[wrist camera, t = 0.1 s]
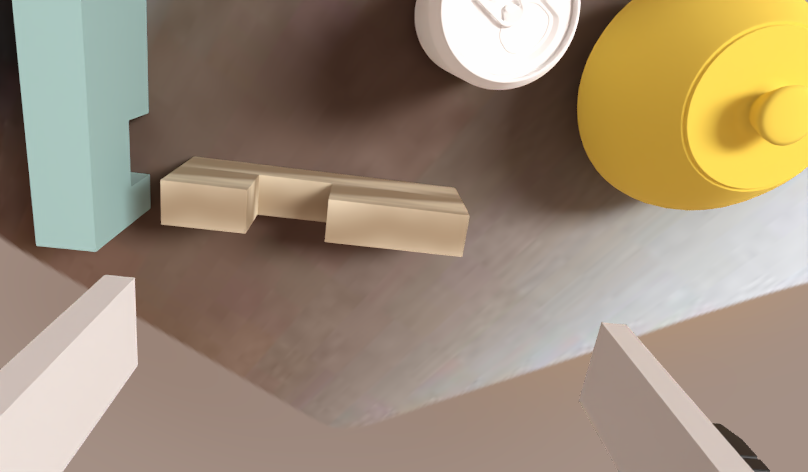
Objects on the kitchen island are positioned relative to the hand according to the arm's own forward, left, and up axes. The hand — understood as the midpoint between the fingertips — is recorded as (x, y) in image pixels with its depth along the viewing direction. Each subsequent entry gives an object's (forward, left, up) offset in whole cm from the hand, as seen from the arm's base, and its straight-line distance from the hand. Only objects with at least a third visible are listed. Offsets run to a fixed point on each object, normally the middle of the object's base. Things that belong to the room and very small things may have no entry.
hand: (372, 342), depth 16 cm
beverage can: (-10, +6, -28) cm, 30 cm away
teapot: (-9, +22, -28) cm, 37 cm away
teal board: (-3, -18, -28) cm, 33 cm away
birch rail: (+4, -3, -28) cm, 28 cm away
